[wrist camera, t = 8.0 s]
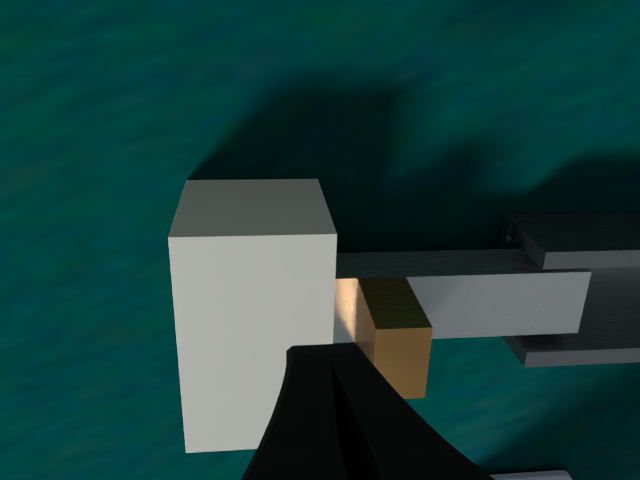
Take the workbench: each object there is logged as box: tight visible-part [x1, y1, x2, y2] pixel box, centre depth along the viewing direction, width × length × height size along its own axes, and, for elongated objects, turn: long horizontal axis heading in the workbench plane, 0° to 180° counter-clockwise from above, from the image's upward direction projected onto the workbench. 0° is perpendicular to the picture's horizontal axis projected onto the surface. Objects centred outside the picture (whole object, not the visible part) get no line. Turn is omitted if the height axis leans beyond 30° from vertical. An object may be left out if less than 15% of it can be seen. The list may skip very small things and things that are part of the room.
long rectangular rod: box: [333, 249, 591, 399], centre depth 19 cm, size 2×12×5 cm, turn 88°
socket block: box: [168, 179, 337, 453], centre depth 20 cm, size 7×4×5 cm, turn 179°
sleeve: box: [499, 212, 640, 367], centre depth 22 cm, size 4×10×3 cm, turn 88°
